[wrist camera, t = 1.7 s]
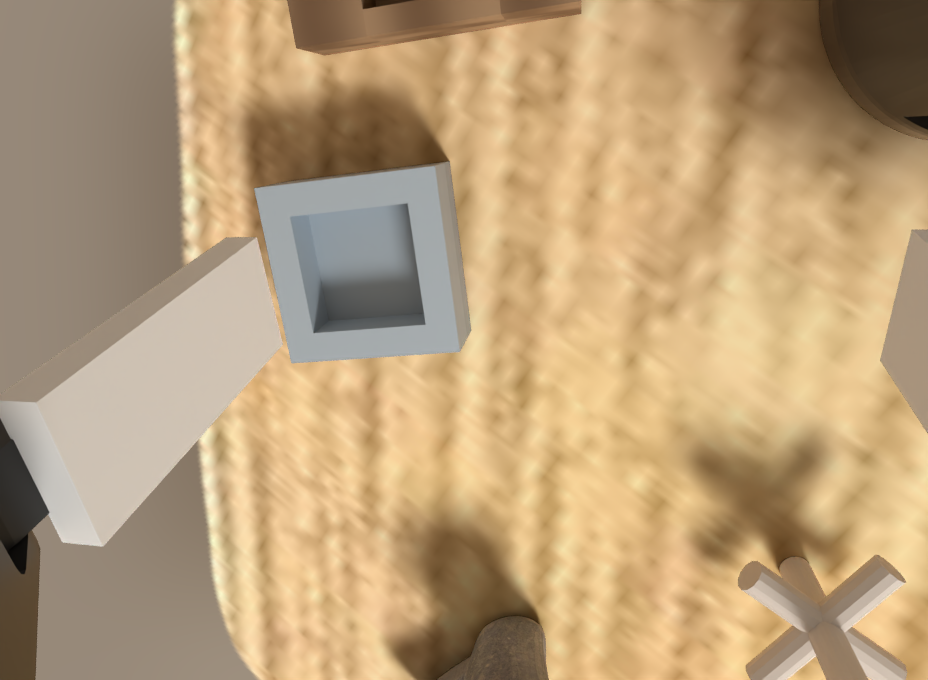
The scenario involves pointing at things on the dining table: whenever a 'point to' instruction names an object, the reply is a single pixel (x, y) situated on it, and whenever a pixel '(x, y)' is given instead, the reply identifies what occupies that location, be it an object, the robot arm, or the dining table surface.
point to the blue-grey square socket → (367, 263)
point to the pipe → (505, 653)
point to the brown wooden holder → (408, 20)
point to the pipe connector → (822, 621)
